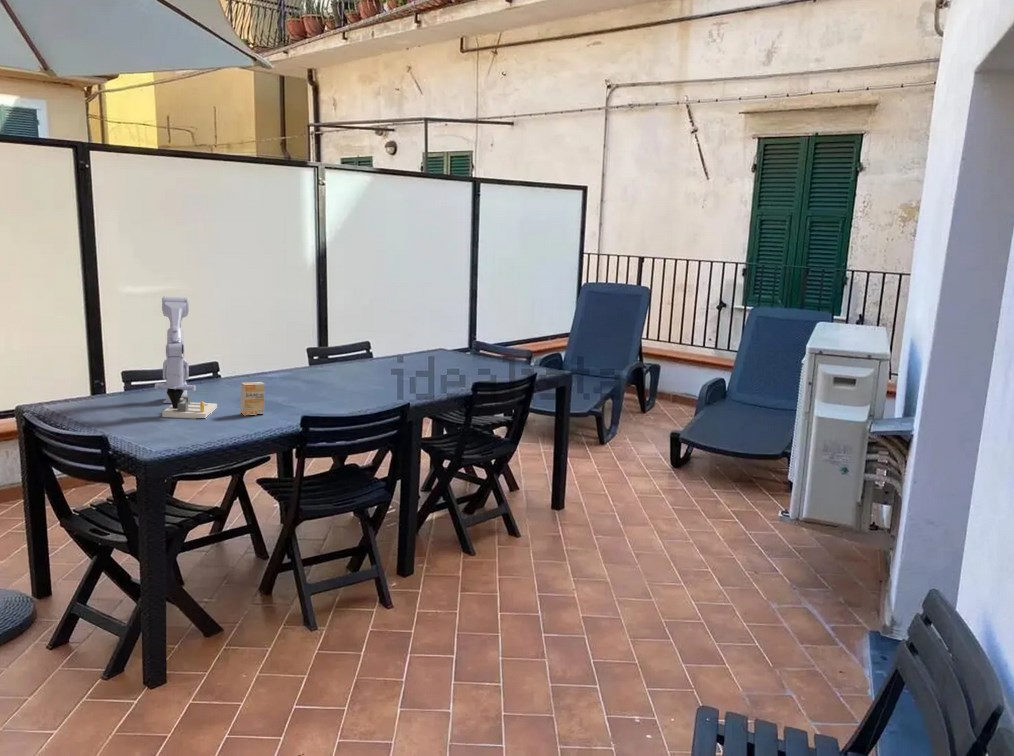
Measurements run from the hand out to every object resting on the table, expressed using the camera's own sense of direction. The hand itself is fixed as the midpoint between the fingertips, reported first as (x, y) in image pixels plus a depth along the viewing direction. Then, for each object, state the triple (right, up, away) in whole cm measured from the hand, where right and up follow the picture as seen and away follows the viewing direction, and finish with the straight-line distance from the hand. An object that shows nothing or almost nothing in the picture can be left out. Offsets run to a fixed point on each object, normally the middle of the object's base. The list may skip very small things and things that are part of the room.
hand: (175, 407), depth 292 cm
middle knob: (0, 0, +6) cm, 6 cm away
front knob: (+3, -1, 0) cm, 3 cm away
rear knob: (-1, +1, +11) cm, 11 cm away
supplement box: (+26, -3, +11) cm, 29 cm away
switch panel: (+3, -2, +6) cm, 7 cm away
